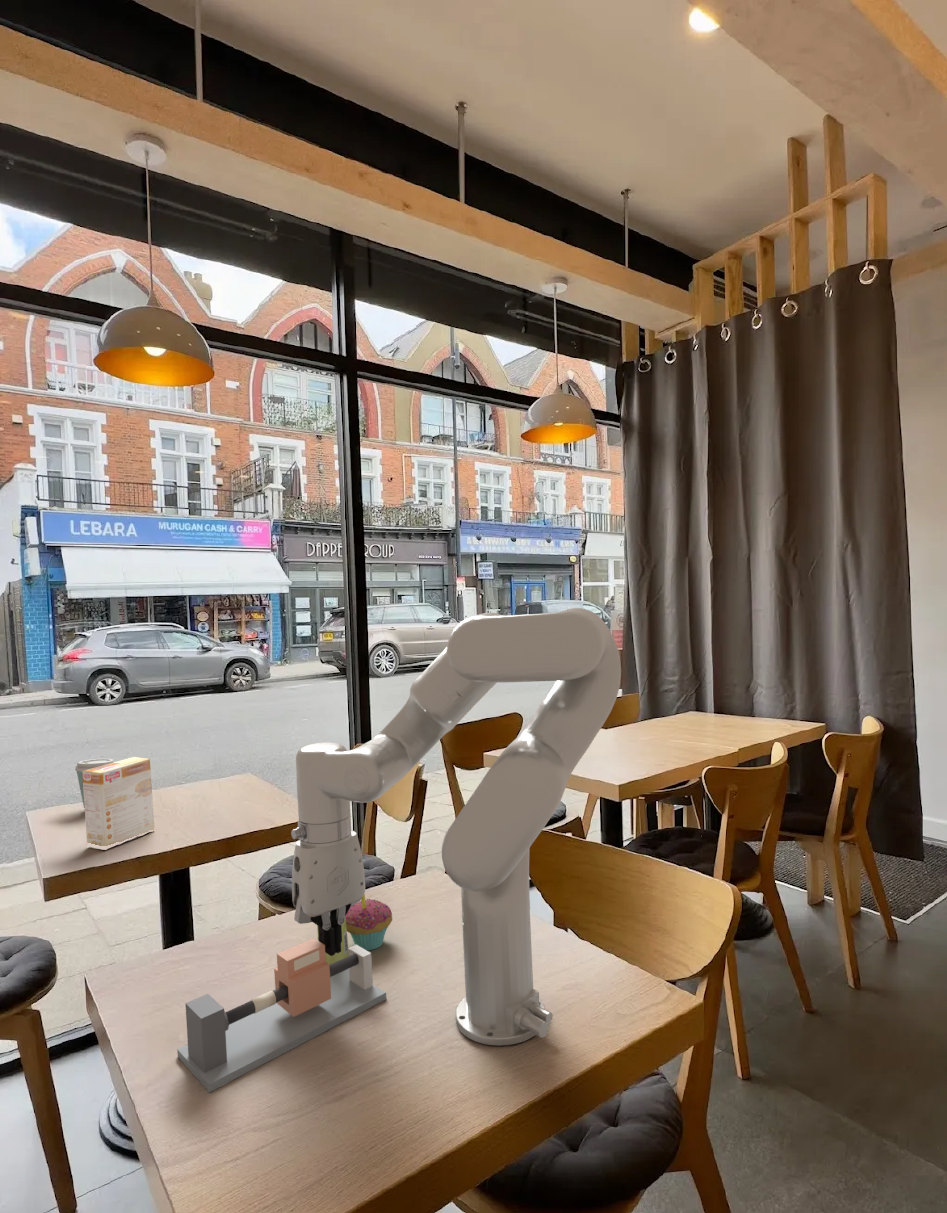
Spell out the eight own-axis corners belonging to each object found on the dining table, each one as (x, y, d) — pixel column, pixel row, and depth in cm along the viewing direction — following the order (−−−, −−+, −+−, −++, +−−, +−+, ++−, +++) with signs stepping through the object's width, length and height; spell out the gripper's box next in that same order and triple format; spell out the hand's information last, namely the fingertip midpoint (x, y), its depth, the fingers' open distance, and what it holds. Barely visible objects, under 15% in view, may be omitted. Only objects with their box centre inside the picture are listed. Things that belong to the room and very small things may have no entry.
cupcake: (384, 958, 120) (380, 886, 119) (335, 955, 121) (332, 884, 121) (399, 933, 128) (396, 866, 128) (354, 930, 130) (350, 864, 130)
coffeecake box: (137, 828, 193) (132, 756, 193) (155, 831, 190) (151, 758, 190) (85, 848, 180) (80, 770, 179) (105, 851, 177) (100, 772, 176)
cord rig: (348, 975, 115) (346, 925, 115) (386, 999, 108) (383, 946, 107) (177, 1056, 96) (174, 997, 96) (209, 1092, 89) (205, 1029, 89)
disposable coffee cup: (93, 805, 218) (90, 755, 217) (126, 805, 216) (123, 755, 216) (69, 816, 207) (66, 764, 207) (104, 816, 206) (100, 764, 205)
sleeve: (313, 985, 108) (310, 936, 107) (331, 998, 104) (328, 947, 104) (276, 1003, 104) (273, 951, 103) (293, 1017, 100) (290, 963, 100)
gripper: (291, 848, 99) (298, 981, 99) (381, 821, 109) (387, 941, 109) (266, 836, 104) (272, 961, 105) (354, 811, 114) (359, 925, 115)
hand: (330, 950), depth 107 cm, fingers closed
